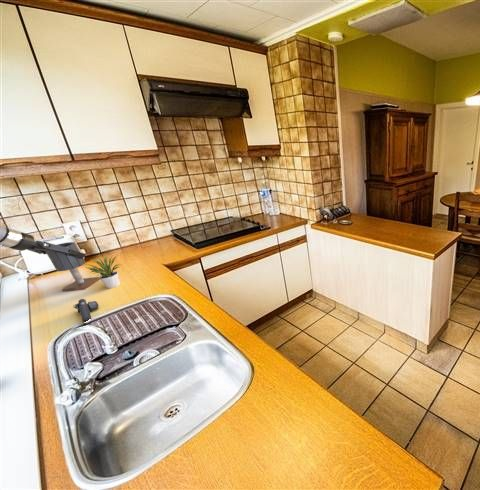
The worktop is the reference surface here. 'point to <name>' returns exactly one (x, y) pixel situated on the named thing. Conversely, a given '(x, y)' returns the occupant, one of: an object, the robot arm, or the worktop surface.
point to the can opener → (85, 308)
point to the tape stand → (79, 281)
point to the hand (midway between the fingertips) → (74, 256)
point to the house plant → (106, 272)
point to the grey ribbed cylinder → (65, 258)
